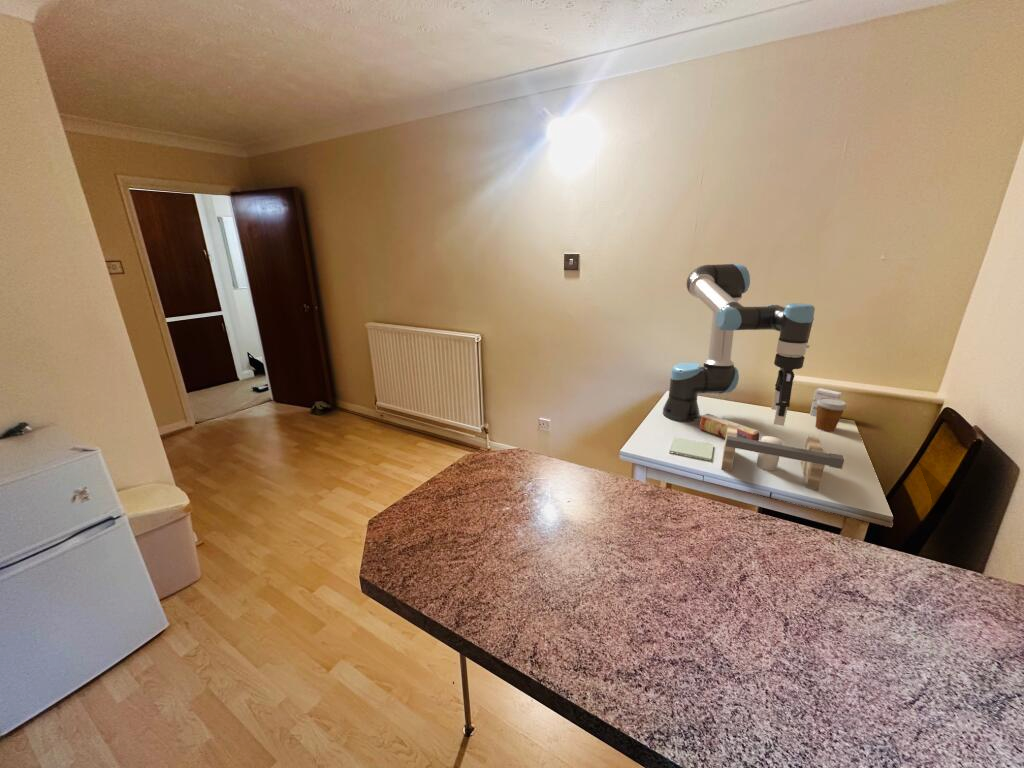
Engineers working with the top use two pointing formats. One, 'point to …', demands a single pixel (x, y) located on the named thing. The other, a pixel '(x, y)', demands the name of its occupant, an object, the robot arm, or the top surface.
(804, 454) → the grey long bar
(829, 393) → the ink box
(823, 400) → the disposable coffee cup
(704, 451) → the pad
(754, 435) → the snack package
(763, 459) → the cream rounded wedge
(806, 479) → the rails
